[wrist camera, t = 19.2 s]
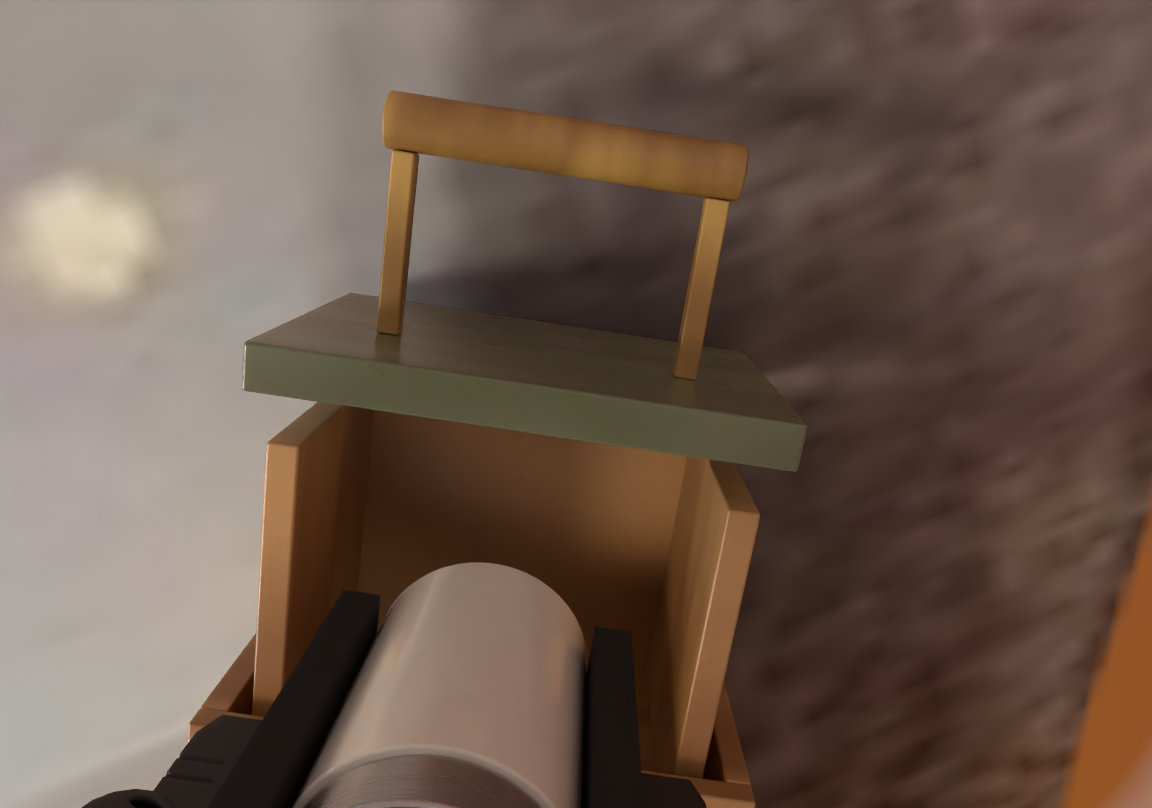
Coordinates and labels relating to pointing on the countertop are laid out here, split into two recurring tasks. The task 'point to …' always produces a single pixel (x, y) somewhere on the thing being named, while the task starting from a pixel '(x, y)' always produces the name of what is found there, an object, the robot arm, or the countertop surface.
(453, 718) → the salt shaker
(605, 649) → the robot arm
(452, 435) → the drawer
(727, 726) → the cabinet
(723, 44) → the countertop surface
